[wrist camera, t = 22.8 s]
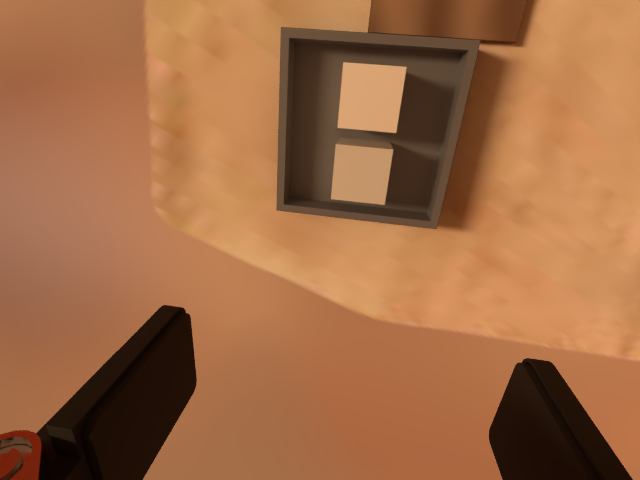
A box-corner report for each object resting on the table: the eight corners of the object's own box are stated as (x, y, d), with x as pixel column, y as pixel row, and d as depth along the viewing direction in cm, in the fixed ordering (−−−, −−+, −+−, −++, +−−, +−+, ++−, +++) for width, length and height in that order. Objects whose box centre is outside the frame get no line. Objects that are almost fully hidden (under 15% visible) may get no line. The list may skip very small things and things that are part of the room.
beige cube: (389, 142, 37) (393, 149, 32) (382, 190, 39) (384, 204, 34) (340, 137, 37) (335, 144, 32) (335, 185, 40) (330, 199, 35)
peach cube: (401, 70, 34) (406, 66, 29) (392, 127, 36) (396, 133, 31) (346, 66, 35) (343, 62, 30) (341, 123, 37) (337, 127, 32)
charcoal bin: (468, 46, 33) (480, 40, 30) (430, 216, 41) (436, 228, 37) (290, 34, 35) (280, 27, 31) (284, 200, 42) (276, 210, 39)
